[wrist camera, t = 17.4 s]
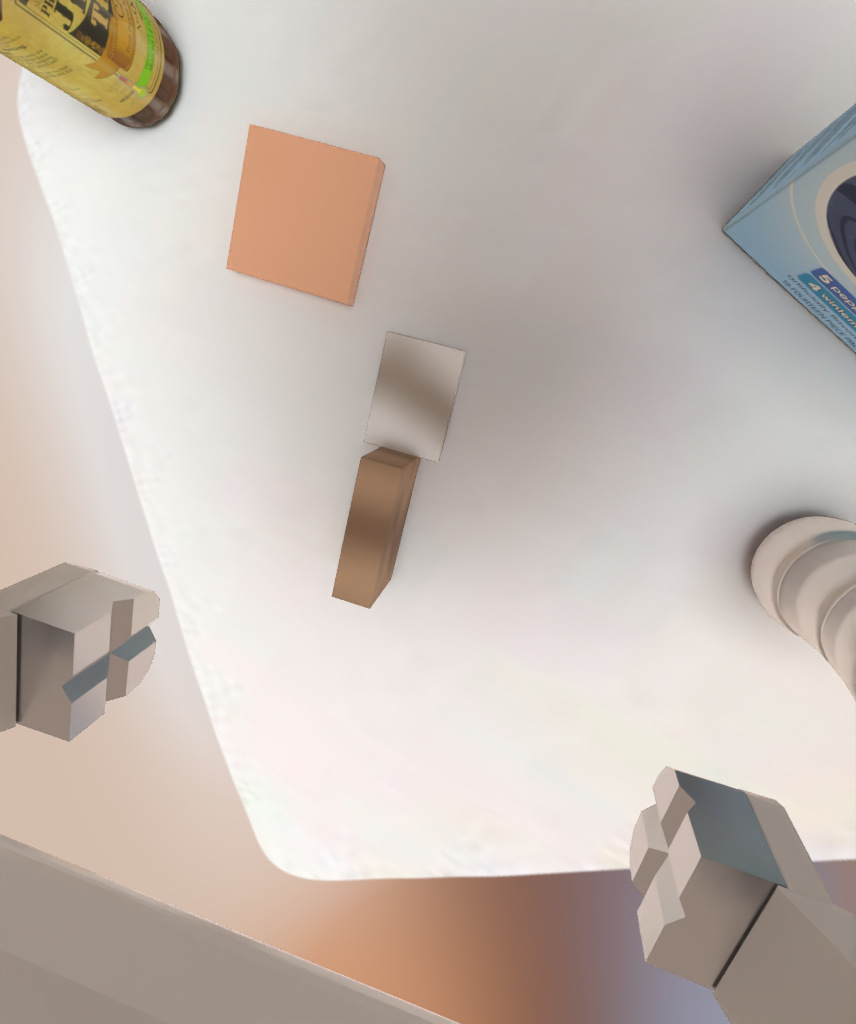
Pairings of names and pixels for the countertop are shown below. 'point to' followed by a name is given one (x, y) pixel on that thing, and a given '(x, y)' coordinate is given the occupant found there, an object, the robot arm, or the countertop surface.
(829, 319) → the gum box
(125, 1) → the sauce bottle
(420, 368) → the turner
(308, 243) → the tile
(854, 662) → the plastic bottle
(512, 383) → the countertop surface
